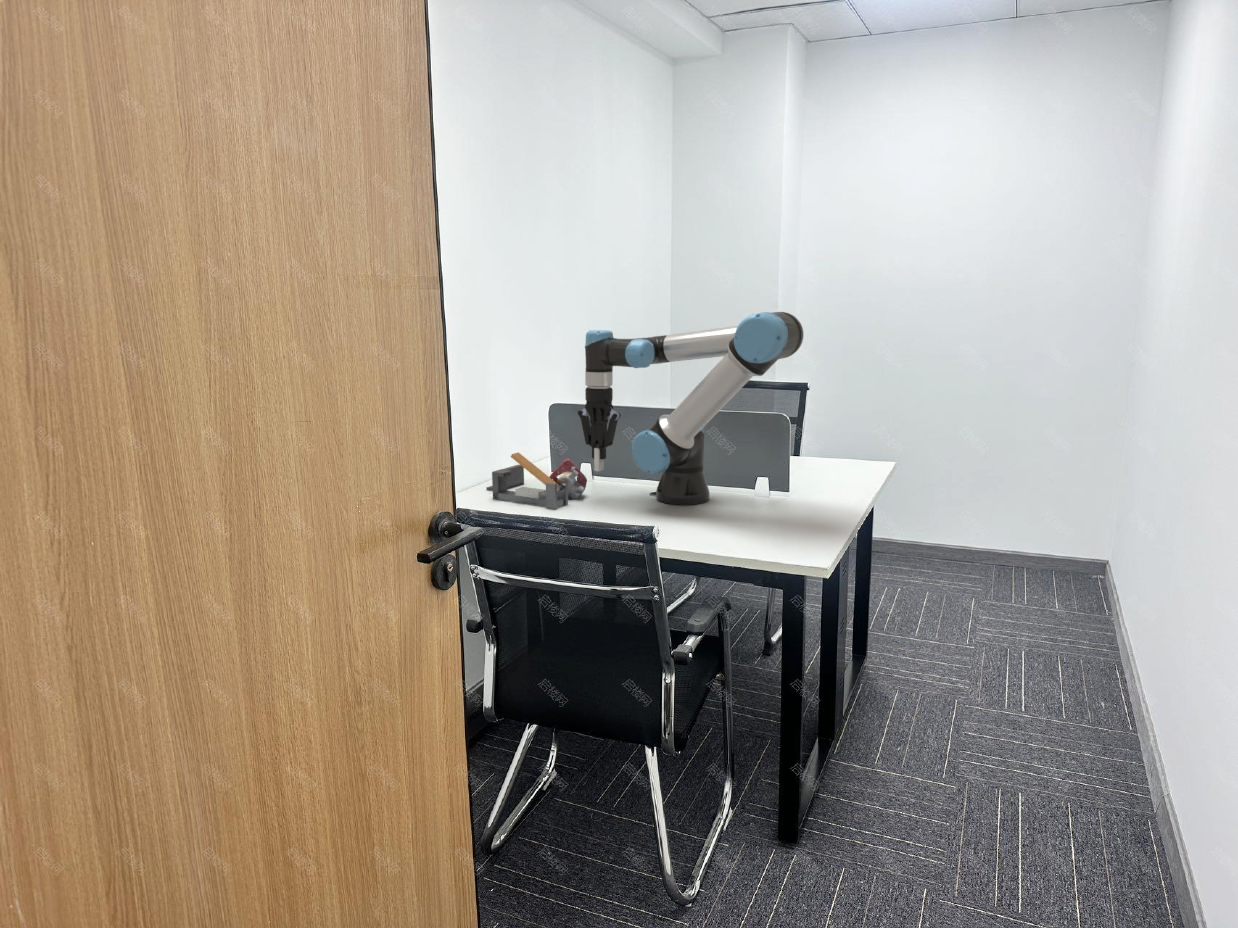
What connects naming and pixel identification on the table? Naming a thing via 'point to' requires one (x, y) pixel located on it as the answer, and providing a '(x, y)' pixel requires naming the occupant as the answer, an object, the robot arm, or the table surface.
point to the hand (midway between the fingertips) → (599, 470)
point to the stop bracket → (513, 477)
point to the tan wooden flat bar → (534, 470)
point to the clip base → (545, 501)
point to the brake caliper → (571, 478)
